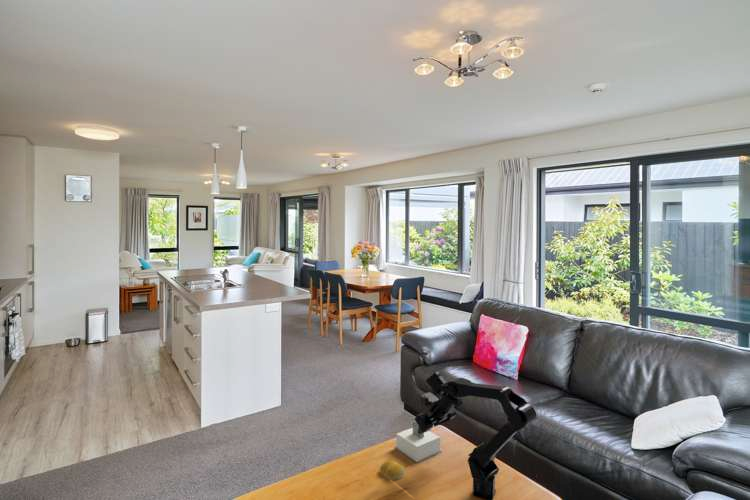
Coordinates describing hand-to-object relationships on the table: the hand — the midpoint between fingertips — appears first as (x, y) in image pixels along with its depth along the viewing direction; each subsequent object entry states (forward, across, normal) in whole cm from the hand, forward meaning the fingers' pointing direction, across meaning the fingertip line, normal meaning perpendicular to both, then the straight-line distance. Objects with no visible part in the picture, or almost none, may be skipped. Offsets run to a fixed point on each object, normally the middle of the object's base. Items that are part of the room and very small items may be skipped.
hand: (426, 429), depth 157 cm
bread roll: (+13, +16, +5) cm, 21 cm away
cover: (+14, -3, +1) cm, 15 cm away
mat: (+15, -3, +1) cm, 15 cm away
